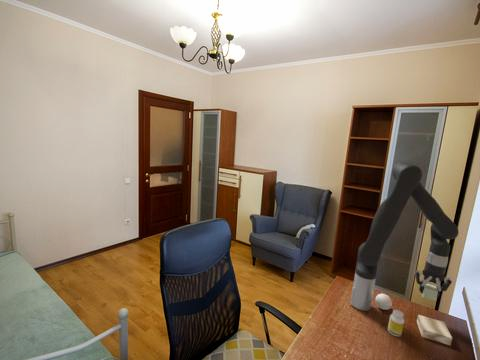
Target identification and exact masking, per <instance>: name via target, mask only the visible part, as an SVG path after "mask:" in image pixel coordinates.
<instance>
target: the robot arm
mask: <svg viewBox="0 0 480 360" xmlns="http://www.w3.org/2000/svg"><path fill="white" fill-rule="evenodd" d="M391 175H392V178H394V180H395V181H396V182H395V185H394V187H393V190H392V191H391V193H390V194H389V195H388V197H387V198H386V199H384V200H383V201H382V203H381V204H380V205H379V206H378V208H377V210H376V213H375V214H374V216H373V219H372V222H371V226H370V230H369V233H368V237H367V239H366V241H365V242H363V243H362V244H360V246H359V247H358V252H357V258H356V265H355V273H354V278H353V284H352V289H351V296H350V306H353V307H354V308H355V309H357V310H358V311H359V310H360V311H363V312H367V311H370V310H371V307H372V301H373V297H374V291H375V285H376V280H377V279H376V278H377V272H378V264H379V262H380V258H381V257H382V256H381V255H382V252H383V250H384V247H385V245H386V243H387V241H388V239H389V238H390V236H391V234H392V233H393V232H394V229H395V228H396V225H397V224H398V222H399V220H400V218H401V216H402V213H403V211H404V209H405V207H406V205H407V203H408V201H409V199H410V197H411V198H412V199H413V201H414V203H415V204H416V205H417V207H418V208H419V210H420V211H421V213H422V214H423V215H424V217H425V219H426V220H427V221H428V222H430V223H431V226H430V229H429V230H430V246H429V251H428V253H427V255H426V257H425V258H426V259H425V264H424V269H422V270H421V271H419V270H418V269H415V270H414V272H415V281H416V284H417V285H419V288H418V290H419V292H420V294H421V293H422V294H423V290H424V286H425V284H429V283H433V284H435V286H436V288H437V290H438V294H437V298H439V297H440V295H441V292H442V291H443V292H446V291H447V290H448V289H449V287H450V286H451V284H452V282H453V281H452V280H451V278H449V277H446V276H445V273H446V270H447V266H448V263H449V255H450V250H451V244H450V243H449V242H448V241H447V240H454V239H456V238H457V237H458V236H459V231H460V230H459V229H458V226H457V225H456V223H455V222H453V220H452V219H451V218H450V217H449V216H448V215H447V214H446V213H445V212H444V210H443V209H442V207H441V206H440V204H439V203H438V202H437V200H436V199H435V198H434V197H433V196H432V195H431V193H429V192H428V190H427V189H426V188H425V187H424V186H423V185H422V183H421V180H422V178H423V177H422V176H423V172H422V169H421V168H420V167H419V166H417V165H415V164H412V163H410V162H405V161H403V162H399V163H396V164H395V165H394V166H393V168H392V170H391ZM422 275H423V277H422V280H421V279H420V277H421V276H422ZM442 281H444V283H443V284H442V286H441V282H442ZM422 294H421V295H422Z"/></svg>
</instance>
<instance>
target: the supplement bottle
mask: <svg viewBox="0 0 480 360" xmlns="http://www.w3.org/2000/svg"><path fill="white" fill-rule="evenodd" d="M404 316H405V315H404V313H403V312H402V311H401V310H398V309H393V311H392V313H391V314H390V315H389V320H388V324H387V331H388V332H389V333H390V334H391V335H392V336H395V337H402V334H403V330H404V327H405V326H404V325H405V319H404Z"/></svg>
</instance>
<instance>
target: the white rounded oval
mask: <svg viewBox="0 0 480 360" xmlns="http://www.w3.org/2000/svg"><path fill="white" fill-rule="evenodd" d="M374 299H375V300H374V301H375V304H376V306H377V307H378V308H379V309H381V310H384V311H385V310H386V311H387V310H390V309H391V308H392V305H393V301H392V299H391V297H390V295H387V294H385V293H378V294H377V295H376V296H375V298H374Z"/></svg>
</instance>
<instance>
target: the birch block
mask: <svg viewBox="0 0 480 360" xmlns="http://www.w3.org/2000/svg"><path fill="white" fill-rule="evenodd" d="M416 323H417V327H418V329H419V333H420V334H421V337H422V338H426V339H428V340H431V341H435V342H438V343H441V344H445V345H447V346H450V347H451V346H452V343H453V342H452V341H453V336H452V334H451V333H450V331H449V329H448V327H447V325H446V323H445V321H442V320H438V319H435V318H431V317H427V316H424V315H420V314H417V318H416Z"/></svg>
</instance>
